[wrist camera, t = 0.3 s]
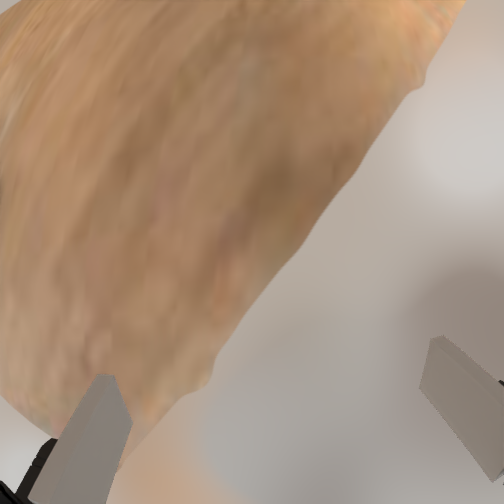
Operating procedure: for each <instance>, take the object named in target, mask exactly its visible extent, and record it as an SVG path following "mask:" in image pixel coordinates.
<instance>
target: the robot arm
mask: <svg viewBox="0 0 504 504" xmlns="http://www.w3.org/2000/svg"><path fill="white" fill-rule="evenodd" d="M419 389H420V390H421V391H422V392H423V394H424V395H425V396H426V397H427V399H428V400H429V401H430V402H431V404H432V405H433V406H434V407H435V408H436V410H437V411H438V412H439V414H440V415H441V416H442V417H443V419H444V420H445V421H446V422H447V424H448V425H449V426H450V427H451V429H452V430H453V431H454V433H455V434H456V435H457V436H458V438H459V439H460V440H461V442H462V443H463V444H464V446H465V447H466V448H467V449H468V451H469V452H470V453H471V455H472V456H473V457H474V459H475V460H476V461H477V463H478V464H479V465H480V467H481V468H482V469H483V471H484V472H485V474H486V475H487V476H488V478H489V479H490V480H491V482H494V481H495V480H497V479H498V478H499V477H501V476H502V475H504V382H503V381H501V380H500V381H497V380H496V379H495V378H493V377H492V376H491V375H490V374H489V373H488V372H486V370H484V369H483V368H482V367H481V366H480V365H478V364H477V363H476V362H475V361H474V360H473V359H472V358H470V357H469V356H468V355H467V354H466V353H464V352H463V351H462V350H461V349H460V348H459V347H457V346H456V345H455V344H454V343H452V342H451V341H450V340H449V339H448V338H446V337H445V336H439V337H436V338H433V339H431V341H430V345H429V350H428V354H427V359H426V363H425V367H424V371H423V375H422V379H421V383H420V386H419ZM132 424H133V421H132V419H131V417H130V415H129V412H128V410H127V407H126V405H125V403H124V400H123V398H122V395H121V393H120V390H119V387H118V385H117V382H116V379H115V377H114V375H107V374H98V375H97V376H96V378H95V379H94V381H93V382H92V384H91V386H90V387H89V389H88V390H87V392H86V394H85V395H84V397H83V399H82V400H81V402H80V403H79V405H78V407H77V408H76V410H75V412H74V413H73V415H72V417H71V418H70V420H69V422H68V424H67V425H66V427H65V429H64V430H63V432H62V434H61V436H60V437H59V439H54V438H51V439H50V440H48V441H47V442H46V443H45V444H44V445H42V447H41V448H40V450H39V452H38V453H37V455H36V458H35V459H34V460H33V462H32V466H30V467H29V469H28V471H27V473H26V475H25V476H24V478H23V480H22V482H21V484H20V486H19V487H18V489H17V491H16V493H15V494H14V493H13V492H12V491H11V490H10V489H9V488H8V487H7V486H6V484H4V483H3V482H2V481H0V504H106V501H107V497H108V494H109V491H110V488H111V485H112V482H113V479H114V476H115V473H116V470H117V467H118V464H119V461H120V458H121V455H122V452H123V450H124V447H125V444H126V441H127V438H128V435H129V433H130V430H131V427H132Z"/></svg>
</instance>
